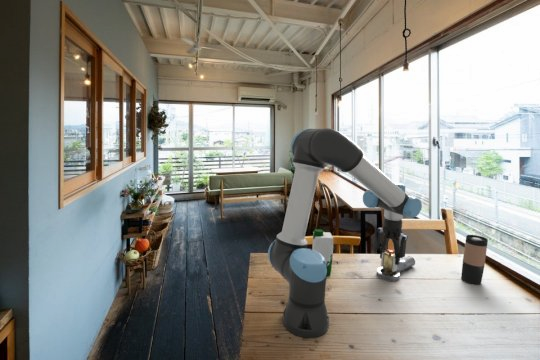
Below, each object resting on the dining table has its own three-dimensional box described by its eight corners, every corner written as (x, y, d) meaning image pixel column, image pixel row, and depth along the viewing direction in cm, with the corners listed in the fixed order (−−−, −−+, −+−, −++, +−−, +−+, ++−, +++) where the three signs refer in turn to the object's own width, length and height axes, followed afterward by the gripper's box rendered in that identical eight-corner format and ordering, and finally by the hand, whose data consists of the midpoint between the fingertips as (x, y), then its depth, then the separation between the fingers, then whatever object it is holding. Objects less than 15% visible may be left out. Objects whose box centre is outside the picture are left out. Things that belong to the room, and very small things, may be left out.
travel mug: (474, 277, 125) (480, 235, 122) (486, 286, 117) (492, 241, 114) (456, 276, 126) (462, 234, 123) (466, 285, 118) (473, 240, 115)
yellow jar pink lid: (390, 275, 121) (392, 254, 119) (380, 270, 125) (382, 250, 123) (396, 272, 124) (398, 251, 122) (386, 268, 127) (388, 248, 126)
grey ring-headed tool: (391, 283, 118) (392, 273, 117) (372, 274, 125) (373, 264, 125) (419, 269, 132) (420, 260, 131) (401, 262, 139) (402, 253, 138)
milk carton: (310, 267, 131) (312, 227, 128) (329, 268, 131) (331, 227, 128) (312, 276, 122) (314, 233, 119) (333, 277, 122) (335, 234, 119)
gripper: (418, 221, 115) (412, 274, 119) (379, 212, 130) (376, 259, 133) (408, 224, 111) (403, 278, 115) (370, 214, 126) (366, 262, 129)
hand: (388, 268), depth 124 cm, fingers closed on yellow jar pink lid, 5 cm apart
